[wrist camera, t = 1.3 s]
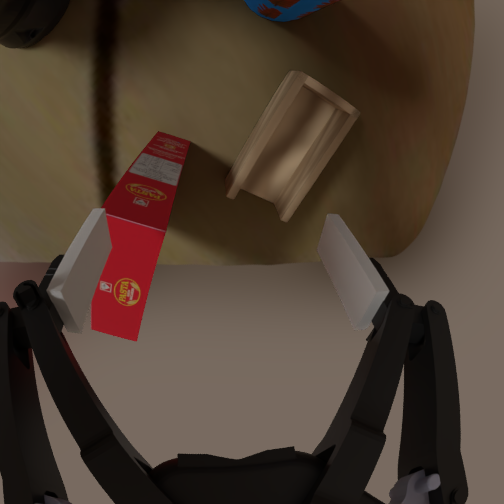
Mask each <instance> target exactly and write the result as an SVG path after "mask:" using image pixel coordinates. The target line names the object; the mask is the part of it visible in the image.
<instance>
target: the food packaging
mask: <svg viewBox="0 0 504 504" xmlns="http://www.w3.org/2000/svg"><path fill="white" fill-rule="evenodd" d="M190 142H191V141H188V140H184V139H181V138H178V137H175V136H172V135H169V134H166V133H162V132H159V131H158V132H157V134H156V135H155V136H154V137H153V138H152V140H151V141H150V142H149V143H148V144H147V146H146V147H145V148H144V149H143V151H142V152H141V153H140V154H139V156H138V157H137V158H136V160H135V161H134V162H133V163H132V165H131V166H130V167H129V169H128V170H127V171H126V173H125V174H124V175H123V177H122V178H121V180H120V181H119V182H118V184H117V185H116V187H115V188H114V190H113V191H112V192H111V194H110V195H109V197H108V198H107V200H106V201H105V203H104V204H103V206H102V207H101V208H105V212H106V218H107V223H108V229H109V234H110V239H111V244H112V249H111V251H110V254H109V256H108V259H107V261H106V264H105V266H104V269H103V271H102V274H101V276H100V279H99V282H98V284H97V287H96V290H95V293H94V296H93V298H92V301H91V329H92V330H96V331H99V332H103V333H106V334H110V335H113V336H117V337H121V338H124V339H128V340H133V341H137V338H138V333H139V329H140V325H141V320H142V316H143V312H144V308H145V304H146V300H147V296H148V292H149V288H150V284H151V281H152V277H153V274H154V270H155V266H156V263H157V259H158V256H159V253H160V249H161V246H162V243H163V240H164V236H165V233H166V230H167V225H168V221H169V217H170V213H171V209H172V205H173V201H174V197H175V193H176V190H177V186H178V182H179V179H180V175H181V172H182V168H183V165H184V161H185V158H186V155H187V151H188V148H189V145H190Z"/></svg>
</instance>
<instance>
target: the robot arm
mask: <svg viewBox="0 0 504 504" xmlns="http://www.w3.org/2000/svg"><path fill="white" fill-rule="evenodd" d="M69 1H70V0H0V44H1V45H3V46H5V47H8V48H25V47H28V46H31V45H33V44H35V43H37V42H38V41H40V40H41V39H42V38H44V37H45V36H46V35H47V34H48V33H49V32H50V31H51V30H52V29H53V28H54V27H55V26H56V24H57V23H58V22H59V20H60V19H61V17H62V16H63V14H64V12H65V10H66V8H67V6H68V4H69ZM111 249H112V244H111V239H110V234H109V229H108V223H107V218H106V212H105V208H101V209H93V210H92V212H91V213H90V215H89V216H88V218H87V219H86V221H85V222H84V224H83V226H82V227H81V229H80V230H79V232H78V234H77V235H76V237H75V239H74V240H73V242H72V244H71V245H70V247H69V249H68V250H67V252H66V254H65V255H59V256H58V257H56V258H55V259H54V260H53V261H52V263H51V265H50V267H49V270H47V272H46V275H45V276H44V278H43V280H42V282H41V283H40V285H39V287H38V286H37V284H36V282H35V281H32V280H27V281H24V282H22V283H20V284H19V285H18V286H17V287H16V288H15V290H14V293H13V298H14V299H15V301H16V303H17V305H18V306H19V307H16V308H11V309H10V308H9V306H8V305H7V303H6V302H0V472H1V476H2V479H3V494H4V504H72V503H70V502H69V501H68V498H67V494H66V490H65V487H64V484H63V481H62V478H61V475H60V472H59V470H58V467H57V464H56V461H55V458H54V456H53V452H52V449H51V446H50V442H49V439H48V436H47V432H46V428H45V424H44V420H43V416H42V412H41V407H40V402H39V397H38V391H37V385H36V379H35V371H34V363H33V354H32V349H33V351H34V355H35V357H36V360H37V363H38V365H39V367H40V370H41V373H42V375H43V377H44V380H45V382H46V384H47V387H48V389H49V391H50V393H51V396H52V398H53V400H54V402H55V404H56V406H57V408H58V410H59V412H60V414H61V416H62V418H63V420H64V421H65V423H66V425H67V427H68V429H69V430H70V432H71V434H72V436H73V437H74V439H75V441H76V442H77V444H78V446H79V448H80V450H81V452H80V455H81V457H82V459H83V461H84V463H85V464H86V466H87V467H88V469H89V470H90V472H91V473H92V474H93V476H94V477H95V479H96V480H97V481H98V483H99V484H100V485H101V487H102V488H103V489H104V490H105V492H106V493H107V494H108V496H109V497H110V498H111V499H112V500H113V502H114V503H115V504H385V503H383V502H381V501H380V500H378V499H377V498H375V497H373V496H372V495H371V494H369V493H367V492H366V491H364V490H365V488H366V486H367V484H368V481H369V479H370V477H371V475H372V473H373V471H374V468H375V466H376V464H377V461H378V459H379V457H380V454H381V452H382V449H383V447H384V444H385V441H386V435H385V434H384V433H383V430H384V427H385V424H386V421H387V419H388V416H389V413H390V410H391V406H392V404H393V400H394V397H395V394H396V390H397V387H398V384H399V380H400V376H401V373H402V368H403V365H404V402H403V421H402V432H401V443H400V451H399V459H398V481H397V482H396V484H395V485H394V487H393V488H392V489H391V490H390V493H389V496H390V498H391V501H390V503H389V504H465V502H466V500H467V497H468V486H467V480H466V475H465V470H464V465H463V460H462V456H461V452H460V439H461V438H460V436H461V435H460V434H461V433H460V432H461V431H460V404H459V391H458V382H457V373H456V365H455V358H454V351H453V346H452V340H451V335H450V329H449V325H448V320H447V316H446V312H445V309H444V308H443V307H442V305H441V304H439V303H438V302H436V301H433V300H430V301H428V302H427V303H426V305H425V306H424V307H423V306H418V305H414V303H413V301H412V300H411V299H410V298H409V297H407V296H406V295H403V294H399V293H398V292H397V290H396V288H395V287H394V285H393V283H392V282H391V280H390V279H389V277H387V274H386V273H385V272H384V270H383V268H382V267H381V265H380V264H379V263H378V262H377V261H376V260H375V259H374V258H368V256H367V255H366V253H365V252H364V250H363V249H362V247H361V246H360V244H359V243H358V241H357V240H356V238H355V237H354V236H353V234H352V233H351V231H350V230H349V228H348V227H347V226H346V224H345V223H344V221H343V220H342V219H341V217H340V216H339V215H338V214H327V217H326V220H325V224H324V227H323V231H322V234H321V237H320V241H319V244H318V247H317V252H318V254H319V256H320V258H321V260H322V262H323V264H324V266H325V268H326V270H327V272H328V274H329V276H330V278H331V280H332V283H333V285H334V287H335V289H336V291H337V293H338V295H339V298H340V300H341V302H342V304H343V306H344V309H345V311H346V313H347V315H348V317H349V319H350V322H351V324H352V327H353V329H354V331H356V330H363V329H367V328H368V326H369V325H370V323H371V321H372V323H373V325H374V329H373V330H372V332H371V333H370V335H369V336H368V338H367V339H366V340H367V341H368V343H367V345H366V348H365V350H364V353H363V356H362V358H361V361H360V363H359V365H358V368H357V370H356V373H355V375H354V377H353V379H352V382H351V384H350V386H349V389H348V391H347V393H346V395H345V397H344V399H343V402H342V403H341V405H340V408H339V410H338V412H337V414H336V416H335V418H334V420H333V421H332V424H331V425H330V427H329V429H328V431H327V433H326V435H325V437H324V438H323V440H322V441H321V442H320V443H319V445H318V446H317V447H316V449H315V450H314V452H313V453H312V455H311V454H308V453H305V452H300V451H295V449H294V446H293V447H287V448H280V449H272V450H266V451H263V452H260V453H257V454H254V455H252V456H249V457H245V458H242V459H238V460H236V459H229V458H224V457H218V456H213V455H208V454H178V458H175V459H171V460H168V461H166V462H163V463H161V464H159V465H158V466H156V467H155V468H154V469H153V468H152V467H151V466H150V464H148V462H147V461H146V460H145V459H144V458H143V457H142V456H141V455H140V454H139V453H138V452H137V450H136V449H135V448H134V447H133V446H132V445H131V443H130V442H129V441H128V440H127V438H126V437H125V436H124V434H123V433H122V432H121V430H120V429H119V428H118V426H117V425H116V423H115V422H114V421H113V419H112V418H111V416H110V415H109V413H108V412H107V411H106V409H105V408H104V406H103V405H102V403H101V402H100V400H99V398H98V397H97V395H96V394H95V392H94V390H93V389H92V387H91V385H90V384H89V382H88V380H87V379H86V377H85V375H84V373H83V372H82V370H81V368H80V366H79V364H78V362H77V361H76V359H75V357H74V355H73V353H72V351H71V349H70V347H69V345H68V343H67V341H66V339H65V337H64V335H63V333H62V328H63V325H64V326H65V327H66V329H67V331H68V332H74V333H82V329H83V326H84V323H85V320H86V317H87V313H88V310H89V307H90V304H91V301H92V298H93V296H94V293H95V290H96V287H97V284H98V282H99V279H100V276H101V274H102V271H103V269H104V266H105V264H106V261H107V259H108V256H109V254H110V251H111Z"/></svg>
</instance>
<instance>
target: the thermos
mask: <svg viewBox="0 0 504 504" xmlns="http://www.w3.org/2000/svg"><path fill="white" fill-rule="evenodd" d="M244 1H245V2H246V4H247V5H248V7H249V8H250V9H251V10H252V11H253V12H255V13H256V14H257V15H259V16H261V17H263V18H266V19H269V20H271V21H280V22H286V21H292V20H297V19H299V18H302V17H305V16H307V15H309V14H311V13H313V12H315V11H317V10H320V9H322V8H324V7H326V6H328V5H331V4H333V3H335V2H338V1H340V0H244Z"/></svg>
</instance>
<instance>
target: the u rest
mask: <svg viewBox="0 0 504 504" xmlns="http://www.w3.org/2000/svg"><path fill="white" fill-rule="evenodd" d="M360 113H361V112H360V111H358V110H357V109H356V108H354V107H353V106H352V105H350V104H349V103H348V102H346V101H345V100H344V99H342V98H341V97H340V96H338V95H337V94H335V93H334V92H332V91H331V90H330V89H328V88H327V87H325V86H324V85H322V84H321V83H319V82H318V81H316V80H315V79H313V78H311V77H310V76H308V75H307V74H305V73H303V72H302V71H289V72H288V73H287V75H286V76H285V78H284V80H283V81H282V83H281V84H280V86H279V87H278V89H277V91H276V92H275V94H274V96H273V97H272V99H271V100H270V102H269V104H268V105H267V107H266V109H265V110H264V112H263V114H262V115H261V117H260V119H259V120H258V122H257V124H256V126H255V127H254V129H253V131H252V132H251V134H250V136H249V138H248V139H247V141H246V143H245V145H244V146H243V148H242V150H241V152H240V153H239V155H238V157H237V159H236V161H235V162H234V164H233V166H232V168H231V170H230V172H229V173H228V175H227V177H226V179H225V188H226V197H228V198H231V199H233V200H234V199H235V197H236V195H237V193H238V192H239V190H240V189H243V190H245V191H247V192H249V193H252V194H254V195H256V196H258V197H261V198H263V199H265V200H267V201H270V202H272V203H274V205H275V207H276V210H277V212H278V215H279V217H280V220H282V221H285V222H288V220H289V219H290V217H291V216H292V215H293V213H294V212H295V210H296V209H297V207H298V206H299V204H300V203H301V201H302V200H303V198H304V197H305V195H306V194H307V193H308V191H309V190H310V188H311V187H312V185H313V184H314V182H315V181H316V179H317V178H318V176H319V175H320V173H321V172H322V170H323V169H324V167H325V166H326V164H327V163H328V161H329V160H330V158H331V157H332V155H333V154H334V152H335V151H336V149H337V148H338V146H339V145H340V143H341V142H342V140H343V139H344V137H345V136H346V134H347V133H348V131H349V130H350V128H351V127H352V125H353V124H354V122H355V121H356V119H357V118H358V116H359V115H360Z"/></svg>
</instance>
